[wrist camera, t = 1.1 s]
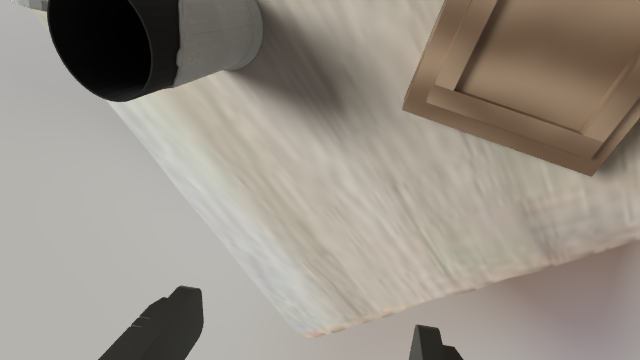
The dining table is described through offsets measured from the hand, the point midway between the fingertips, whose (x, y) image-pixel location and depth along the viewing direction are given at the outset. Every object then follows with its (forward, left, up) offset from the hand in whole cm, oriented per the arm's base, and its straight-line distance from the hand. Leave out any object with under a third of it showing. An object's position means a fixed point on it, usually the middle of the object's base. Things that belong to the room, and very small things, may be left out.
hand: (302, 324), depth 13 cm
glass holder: (-4, -20, -25) cm, 33 cm away
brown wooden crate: (-11, +10, -25) cm, 29 cm away
